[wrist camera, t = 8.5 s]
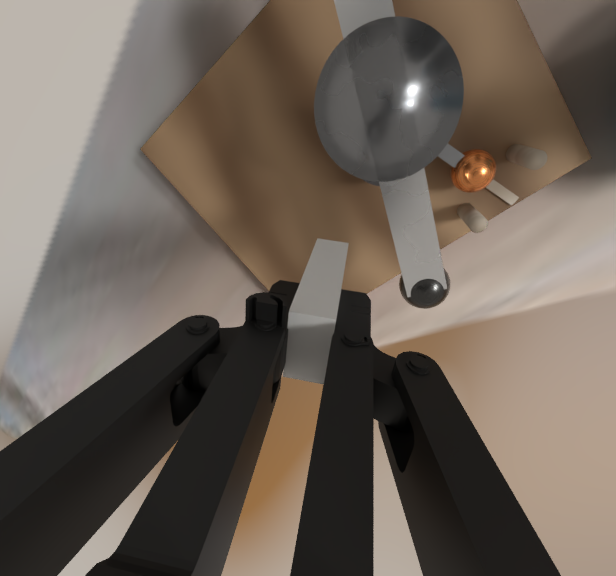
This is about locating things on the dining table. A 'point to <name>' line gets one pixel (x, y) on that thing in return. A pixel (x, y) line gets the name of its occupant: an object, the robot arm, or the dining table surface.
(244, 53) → the wooden lever board
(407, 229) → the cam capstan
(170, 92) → the dining table surface
